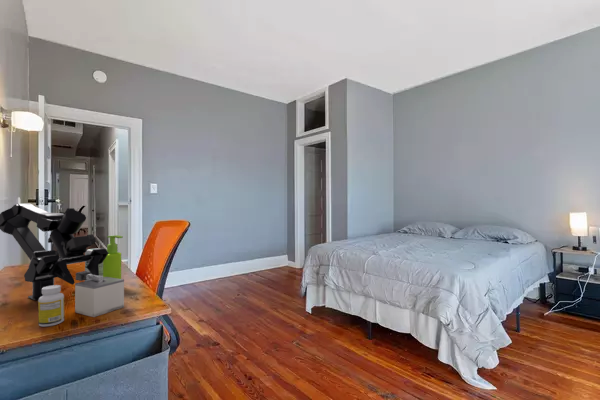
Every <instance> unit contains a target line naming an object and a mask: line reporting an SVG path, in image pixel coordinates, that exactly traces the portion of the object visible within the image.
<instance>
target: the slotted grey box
mask: <svg viewBox="0 0 600 400" xmlns="http://www.w3.org/2000/svg"><path fill="white" fill-rule="evenodd" d="M74 295H75V296H74V299H75V300H74V303H75V304H74V313H76V314H80V315H84V316H88V317H91V318H96V317H98V316H102V315H104V314H105V315H106V314H109V313H111V312H114V311H117V310H120V309H123V308H125V279H123V278H121V279H118V278H111V277H103V282H100V283H98V281H94V280H88V281H85V280H83V281H79V282H75V283H74Z"/></svg>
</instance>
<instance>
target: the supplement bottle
mask: <svg viewBox="0 0 600 400" xmlns="http://www.w3.org/2000/svg"><path fill="white" fill-rule="evenodd" d="M61 288H62V285H59V284H54V285H52V286H47V287H43V288H42V294H43V296H41V297H40V298H39V300H37V303H38V304H37V305H38V326H40V327H43V328H44V327H53V326H56V325H58V324H61V323H63V322H64V321H65V294H64V293H62V292H61V290H62V289H61Z"/></svg>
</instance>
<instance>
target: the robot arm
mask: <svg viewBox="0 0 600 400" xmlns="http://www.w3.org/2000/svg"><path fill="white" fill-rule="evenodd" d="M34 205H35V204H33V203H32V204H31V203H16V204H13V206H11V207H10V208H8V209H5V210H3V211H2V212H0V230H1V232H2V233H4V234H8V235H11V236H12V237H13V238H14V240H15V242H17V243H18V245H19V246H20V248H21V249H22V251H23V252H24V253H25V255H26V256H27V257H28V259H29V260H30V262H29V264H28V268H27V270H26V271H25V273H24V275H23V277H24V281H25V282H28V283H32V295H28V297H27V298H28V299H31V300H33V301H38V300H39V298H40V297H41V296H43V294H42V288H43V287H47V286H52V285H55V278H59V279H60V280H63V281H64V282H66V283H68V284H70V285H75V283H76V282H75V279H74V278H73V275H72V273H71V272H70V270H69V268H68V265H72V264H79V263H85V262H86V261H87V263H88V266H87V269H88V270H89V271H90V272H91V274H92V275H98V276H99V267H98V265H99V264H101V263H102V262H103V261H104V259H105V258H106V257H107V255H108V254H109V253H108V251H107V250H106V249H107V248H105V247H103V248H99V249H96V248H93V249H94V250H93V251H92V252H91V254H90V255H85V254H84V253H85V252H86V251H87V250H88V249H87V248H88V247H91V246H92V245H94V244H95V243H97V239H96V237H95V236H94V234H86V235H82V236H81V235H80V236H74V234H77V233H78V232H79V231H80V229H81V228H82V226H83V225H84V223H85V222H86V219H87V217H86V215H85V214H84V213H82V212H81V211H78V210H76V209H75V208H73V207H70V208H69V207H68V208H66V209H65V211H64V213H60V212H49V211H46V210H44V209H42V208H40V207H37V206H34ZM30 222H33V223H36V227H37V228H38V229H39V230H40V231H41V232H50V234H49V237H48V239H47V243H48V244H50V243H53V245H54V248H55V250H54V249H52V250H46V249H45V247H44V246H43V245H42V243H41V242H40V240H39V239H38V238H37V237H36V236H35V234H34V232H32V230H31V229H30V228H29V225H30Z"/></svg>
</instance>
